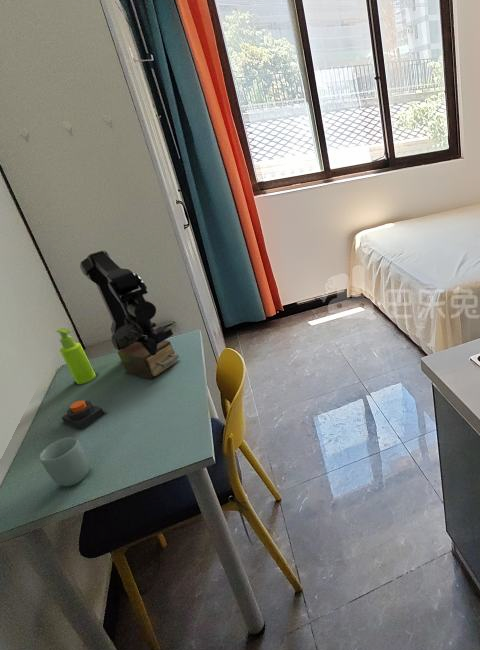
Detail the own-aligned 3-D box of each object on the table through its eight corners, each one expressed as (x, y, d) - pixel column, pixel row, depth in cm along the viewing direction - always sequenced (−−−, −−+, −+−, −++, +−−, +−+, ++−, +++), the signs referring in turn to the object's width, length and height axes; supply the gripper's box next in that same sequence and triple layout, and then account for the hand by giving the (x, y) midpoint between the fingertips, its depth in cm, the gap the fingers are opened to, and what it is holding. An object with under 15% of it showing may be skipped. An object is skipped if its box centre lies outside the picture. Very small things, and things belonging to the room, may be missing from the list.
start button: (70, 411, 131) (67, 406, 130) (82, 403, 134) (79, 399, 133) (77, 413, 130) (74, 409, 129) (89, 406, 133) (86, 401, 132)
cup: (75, 492, 106) (57, 461, 102) (49, 490, 108) (30, 459, 104) (101, 467, 113) (85, 437, 109) (76, 465, 115) (59, 436, 111)
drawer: (186, 363, 155) (180, 346, 152) (163, 378, 147) (156, 361, 144) (154, 356, 162) (148, 340, 159) (131, 370, 154) (123, 354, 151)
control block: (64, 422, 133) (58, 412, 131) (87, 408, 138) (82, 397, 136) (82, 429, 129) (76, 418, 127) (105, 413, 134) (99, 403, 133)
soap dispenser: (84, 385, 150) (58, 335, 142) (72, 382, 153) (46, 332, 145) (101, 376, 155) (77, 326, 147) (89, 372, 158) (65, 323, 150)
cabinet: (177, 361, 158) (169, 341, 154) (152, 379, 149) (143, 357, 146) (152, 356, 164) (144, 336, 160) (126, 372, 155) (117, 351, 151)
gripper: (92, 321, 133) (112, 364, 140) (132, 328, 126) (152, 373, 132) (125, 304, 142) (142, 346, 149) (165, 310, 135) (181, 353, 141)
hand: (153, 355), depth 142 cm, fingers closed
